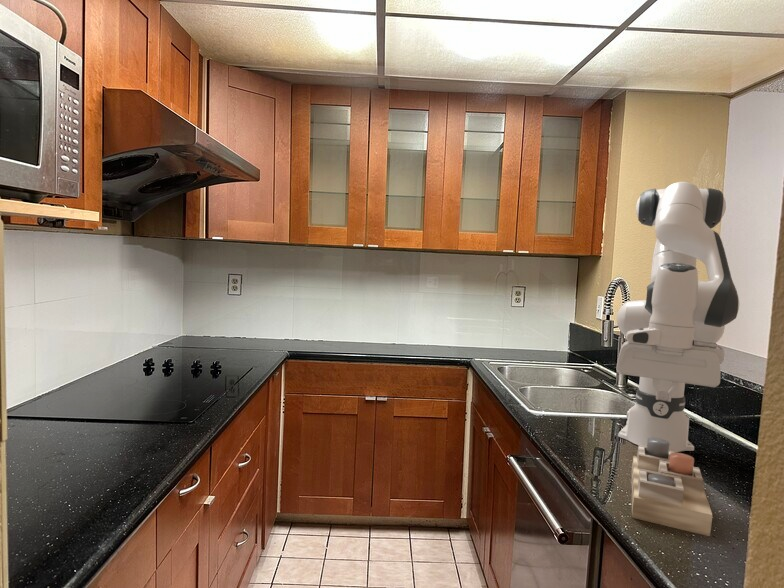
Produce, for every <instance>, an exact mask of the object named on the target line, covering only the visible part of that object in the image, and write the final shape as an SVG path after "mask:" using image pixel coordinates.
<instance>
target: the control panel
mask: <svg viewBox="0 0 784 588" xmlns="http://www.w3.org/2000/svg"><path fill="white" fill-rule="evenodd" d="M637 446H638V447H637V455H632V465H631V518H632V519H635V520H641V521H645V522H649V523H653V524H657V525H662V526H665V527H669V528H674V529H677V530H682V531H687V532H691V533H695V534H697V535H698V534H699V535H703V536H706V537H707V536H708V537H710V536H711V530H712V522H713V513H712V509H711V506H710V503H709V500H708V497H707V495H706V492H705V491H706V490H705V488H704V479H703V476H702V473H701V469H700V467H696V466H693V474H692V475H684V474H679V473H674V472H672V471H670V470H669V469H668V467H669V458H670V453H674V452H673V451H669V453H668V457H667V458H660V457H655V456H651V455H649V454H647V453H646V448H647V446H642V445H637ZM649 474H660V475H664V476H667V477H669V478H671V479H672V480H673V481H674V482H673V486H669V485H664V484H660V483H655V482H650V481H648V475H649Z"/></svg>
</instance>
